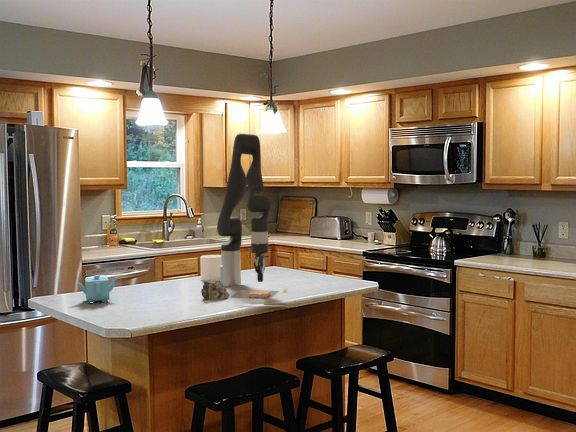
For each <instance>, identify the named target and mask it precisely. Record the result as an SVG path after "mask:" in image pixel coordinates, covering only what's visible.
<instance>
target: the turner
mask: <svg viewBox="0 0 576 432" xmlns="http://www.w3.org/2000/svg"><path fill="white" fill-rule="evenodd" d="M288 290H289V289H288V288H284V289H283V291H281V294H286V293H287V291H288Z"/></svg>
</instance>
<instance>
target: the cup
mask: <svg viewBox="0 0 576 432" xmlns="http://www.w3.org/2000/svg"><path fill="white" fill-rule="evenodd" d="M199 259H200V281H202V282H206V281H208V280H211V281H213V280H214V281H216V282H219V281H220V267H221V266H222V263H221V254H203V255H201V256H200V257H199Z"/></svg>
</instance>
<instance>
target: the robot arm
mask: <svg viewBox="0 0 576 432" xmlns="http://www.w3.org/2000/svg"><path fill="white" fill-rule="evenodd" d="M231 155H232V156H231V163H230V168H229V172H228V173H229V174H228V177H227V182H226V187H225V193H224V198H223V203H222V205H221V206H222V207H221V208H220V209H221V210H220V213H219V216H218V219H217V225H216V230H217V234H218V235H219V236H220V237H229V239H228V240H227V241H226V242H224V243H222V244H221V246H220V252H221V253H220V255H221V263H222V266H221V267H220V282H219V283H223V285H224V286H225V288H229V287H231V286H241V285H242V265H241V263H242V261H241V257H242V255H241V253H242V252H241V247H242V238H243V237H242V236H243V235H242V232H243V229H242V228H243V225H242V221H241V219H240V217H238V216H232V214H233V212H234V210H235V209H236V207H237V206H238V204H240V202H241V201H242V200H243V199H244V197H245V195H246V191H247V201H246V207H247V210H248V211H249V212H250V213H261V214H260V216H256V217H253V218H252V219H251V223H250V224H251V226H250V227H251V230H250V231H251V233H250V234H251V235H250V252H251V254H255V257H254V262H253V267H254V271H255V273H256V275H257V278H256V279H257V282H258V283H263V281H264V273H265V269H266V263H267V258H266V256H265V254H268V253H269V233H268V232H269V231H268V229H269V228H268V225H269V217H270V211H271V208H272V200H271V198H270V197H269V196H268V195H260V194H262V193H264V190H265V186H264V180H263V174H262V156H261V155H262V154H261V142H260V138H259V136H258V135H257V134H250V133H241V132H239V133H237V134H236V135H235V138H234V140H233V147H232V154H231ZM242 155H250V156H252V157H251V158H252V161H251V164H250V165H249V167H248V169H247V172H246V173H245V171H244V168H243V165H242Z"/></svg>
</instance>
